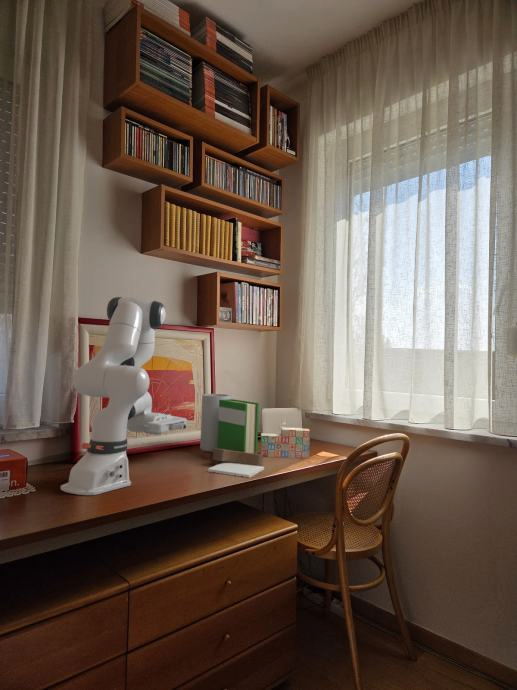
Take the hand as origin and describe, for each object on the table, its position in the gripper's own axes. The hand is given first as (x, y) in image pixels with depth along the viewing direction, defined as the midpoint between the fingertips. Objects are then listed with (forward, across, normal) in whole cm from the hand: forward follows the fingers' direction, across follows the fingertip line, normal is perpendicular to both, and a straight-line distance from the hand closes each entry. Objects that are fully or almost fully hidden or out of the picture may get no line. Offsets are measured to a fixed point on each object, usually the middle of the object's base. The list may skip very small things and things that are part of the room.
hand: (184, 426), depth 184 cm
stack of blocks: (+31, +34, +15) cm, 48 cm away
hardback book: (+14, +20, +14) cm, 29 cm away
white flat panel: (+24, 0, +14) cm, 28 cm away
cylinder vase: (-2, +29, +14) cm, 33 cm away
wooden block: (+12, +6, +11) cm, 17 cm away
